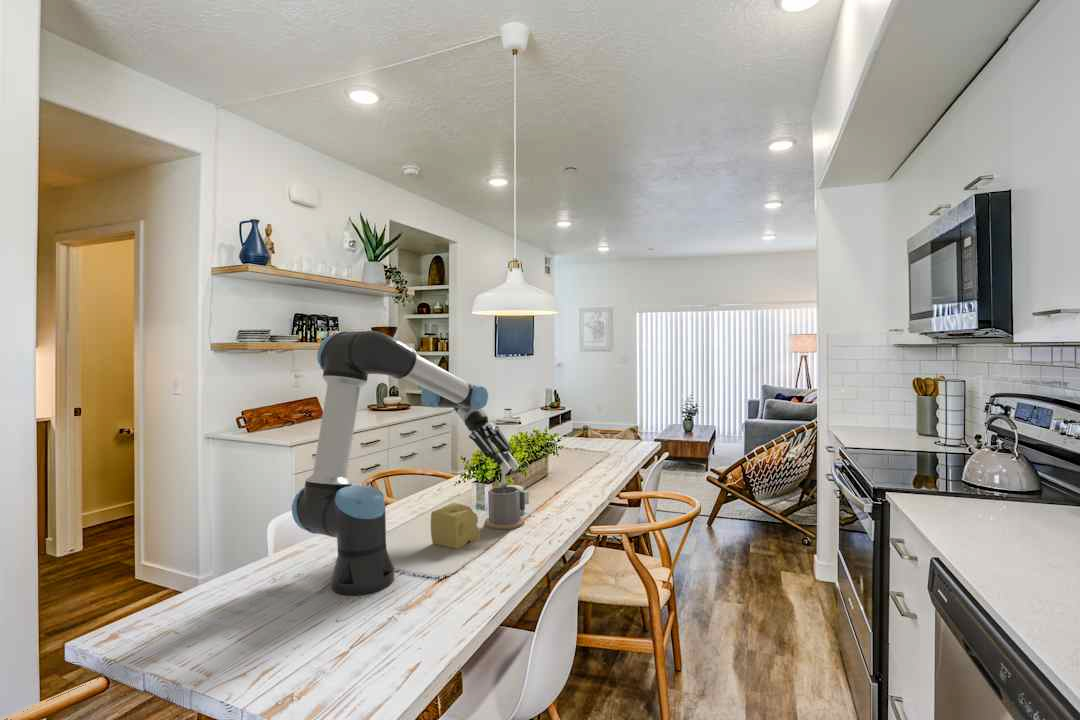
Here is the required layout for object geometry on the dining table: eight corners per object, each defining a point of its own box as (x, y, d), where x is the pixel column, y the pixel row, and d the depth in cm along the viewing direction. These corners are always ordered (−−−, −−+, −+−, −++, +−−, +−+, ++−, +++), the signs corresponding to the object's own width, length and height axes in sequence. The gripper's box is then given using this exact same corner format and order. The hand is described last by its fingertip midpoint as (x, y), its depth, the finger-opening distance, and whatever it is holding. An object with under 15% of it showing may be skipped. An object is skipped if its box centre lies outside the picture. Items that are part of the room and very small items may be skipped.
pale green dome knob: (533, 513, 195) (532, 487, 194) (508, 518, 190) (507, 491, 190) (523, 508, 201) (522, 483, 201) (498, 512, 197) (497, 487, 196)
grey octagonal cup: (532, 524, 182) (531, 491, 182) (495, 532, 176) (494, 497, 175) (514, 514, 194) (513, 482, 193) (478, 521, 187) (477, 488, 187)
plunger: (517, 501, 183) (515, 452, 183) (499, 504, 180) (498, 455, 180) (508, 496, 189) (507, 449, 188) (491, 499, 186) (489, 452, 185)
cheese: (479, 539, 171) (478, 506, 170) (456, 550, 161) (455, 516, 161) (453, 533, 176) (452, 502, 176) (429, 544, 167) (428, 511, 167)
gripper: (483, 420, 199) (521, 471, 190) (450, 426, 186) (489, 482, 177) (494, 406, 196) (534, 457, 187) (461, 411, 183) (502, 467, 173)
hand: (512, 469), depth 182 cm, fingers closed on plunger, 4 cm apart
